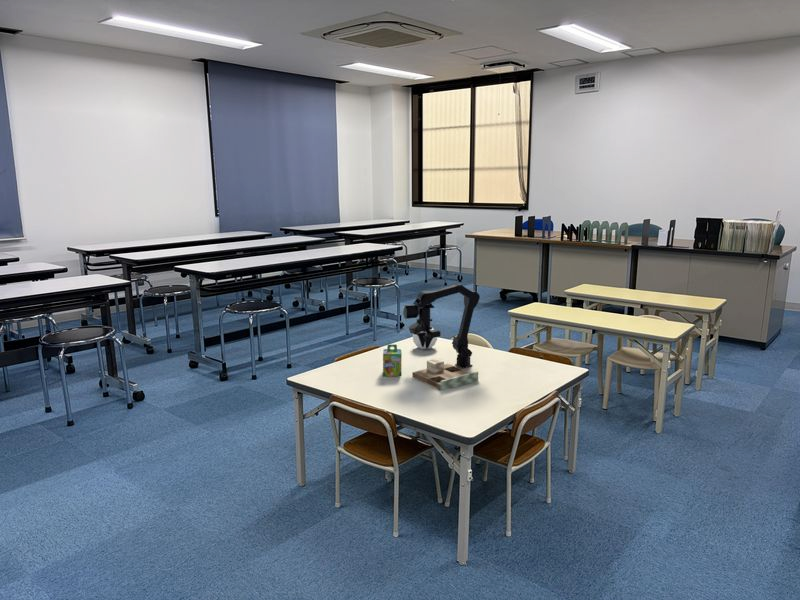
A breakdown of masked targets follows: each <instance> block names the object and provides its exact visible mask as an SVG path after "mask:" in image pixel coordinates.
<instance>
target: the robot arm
mask: <svg viewBox="0 0 800 600" xmlns="http://www.w3.org/2000/svg"><path fill="white" fill-rule="evenodd" d="M458 293H459V294H460V295H462V296H463V304H464V309H463V312H462V318H461V321H460V324H459V325H460V326H459V330H458V333H457V334H456V336H455V335H454V336H453V338H452V339H453V340H452V342H451V344H452V348H453V349H454V350H455V351H456V364H454V366H455V367H457V368H460V369H466V368H470V367H473V364H471V357H472V354H473V351H471V350H470V349H469V338H468V335H469V331H470V327H471V322H472V318H473V314H474V310H475V308H476V307H477V306H478V304H479V302H480V298H481V295H480V294H479V293H478V292H477V291H475V290H472V289H468V288H467V287H466V286H464V285H462V284H460V283H455V284H453V285H449V286H446V287H442V288H439V289H435V290H422V291H420V292H418V293H417V296H416V299H415V300H414V301H413V304H404V308H403V310H402V312H403V318H404V319H405V320H406V319H407V320H409V319H416V322H414V323H413V324H410V325H409V326H408V329H409V333H410V334H412V335H413V334H416V335H417V336H418V337H419V340H420V343H421V346H422V347H424V344H425V346H426V348H428V347H429V345H430V343H431V341H432V339H433V338H435V337H437V338H439V337H441V336H442V332H441V331H440V330H438V329H434V330H430V329H432V327H433V326H431V322H433V318H431V309H435V306H434V305H433V304H432V303H435V301H436V300H440V299H442V298H446V297H449V296H452V295H457V294H458ZM430 326H431V327H430Z"/></svg>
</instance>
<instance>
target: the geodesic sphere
mask: <svg viewBox="0 0 800 600" xmlns="http://www.w3.org/2000/svg"><path fill="white" fill-rule="evenodd" d="M430 327H432V329H430V330H435V329H434V327H433V326H431V325H430ZM412 340H413V343H414V344H415V346H416V347H417V348H419V349H421V350H428V349H431V348H432V347H434V346H435V345H436V343H437V341H438V337H435V338H433V339H432V341H431V343H430V345H429V347H428V348H426V346H425V344H424V347H422V346H421V343H420V340H419V337H418V336H417V335H416V334H413V333H412Z"/></svg>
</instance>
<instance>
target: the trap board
mask: <svg viewBox="0 0 800 600" xmlns="http://www.w3.org/2000/svg"><path fill="white" fill-rule="evenodd" d="M412 378H414V379H416V380H418V381H419V382H422V383H424V384H426V385H429V386H431V387H433V388H435V389H436V390H437V389H438V390H439V391H442V392H443V391H446V390H450V389H454V388H457V387H460V386H464V385H468V383H469V384H472V383H475V381H476V382H478V381H479V371H477V370H476V371H473V372H470V371H468V370H464V369H463V368H461V367H458V366H456V365H453V364H450V363H444V370H443V371H439V372H435V373H434V372H431V371H429V370H427V368H424V369H419V370H417V371H412Z"/></svg>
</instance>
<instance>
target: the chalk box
mask: <svg viewBox="0 0 800 600" xmlns="http://www.w3.org/2000/svg"><path fill="white" fill-rule="evenodd" d="M402 355H403V354H402V349H400V348H398V345H397V344H395V343H393V344H387V349H386V348H385V349H383V354H382V376H383V377H396V378H397V377H400V378H401V377H402Z"/></svg>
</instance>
